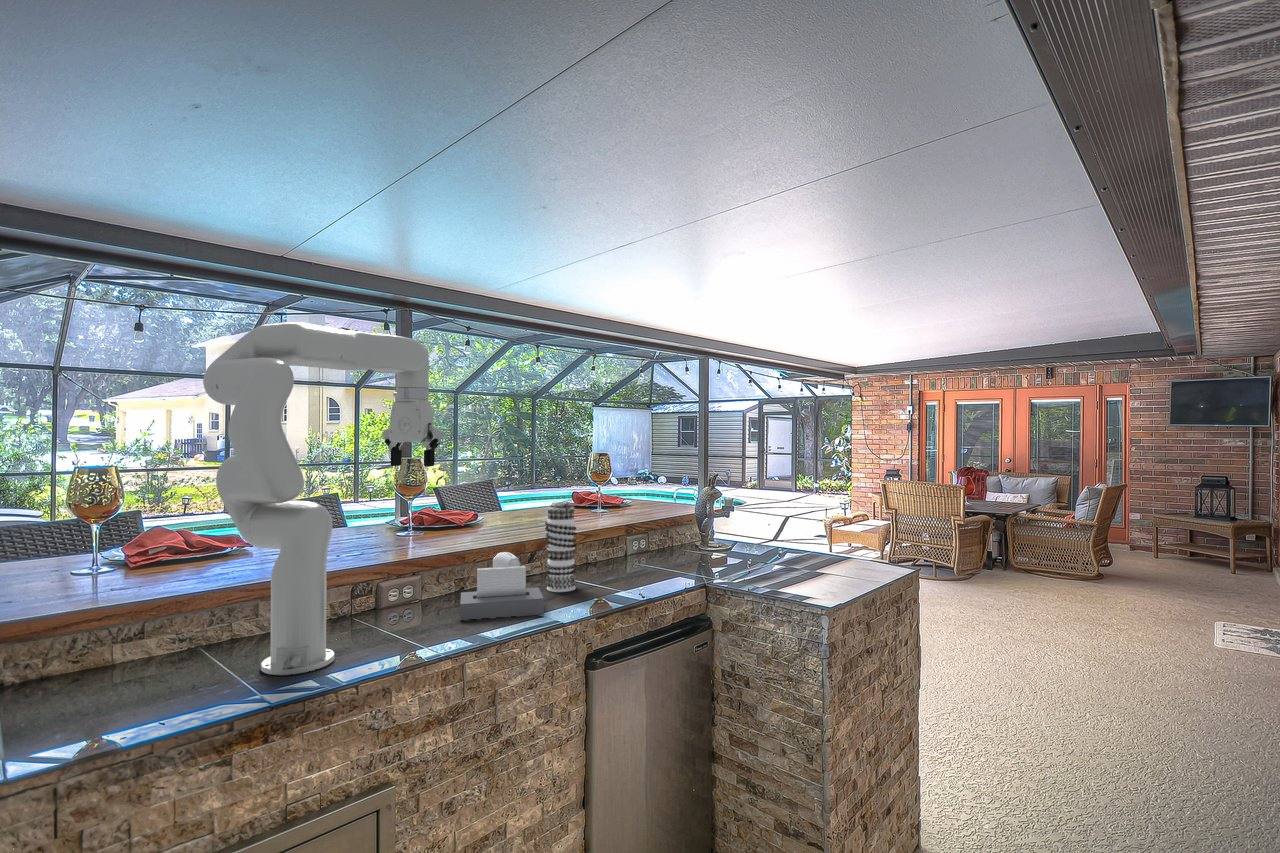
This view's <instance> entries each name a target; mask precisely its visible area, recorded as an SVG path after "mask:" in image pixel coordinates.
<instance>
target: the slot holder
mask: <svg viewBox="0 0 1280 853" xmlns="http://www.w3.org/2000/svg"><path fill="white" fill-rule="evenodd" d="M544 601H545V597H544V596H543V594H542V592H541V590H540V588H539V587H538V586H537V587H526V595H522V596H508V597H493V598H479V599H477V590H476V591H463V592H460V604H459V608H460V611H459V612H460V614H459V616H460V618H459V619H460V620H464V621H469V620H468V619H477V620H483V619H482V618H490V619H497V618H496V617H503V618H512V617H511V616H516V617H525V616H526V617H527V616H539V615H540V616H541V615H542V616H543V615H544V614H545V610H544V609H545V608H544V607H545V606H544V605H545V602H544Z"/></svg>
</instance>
